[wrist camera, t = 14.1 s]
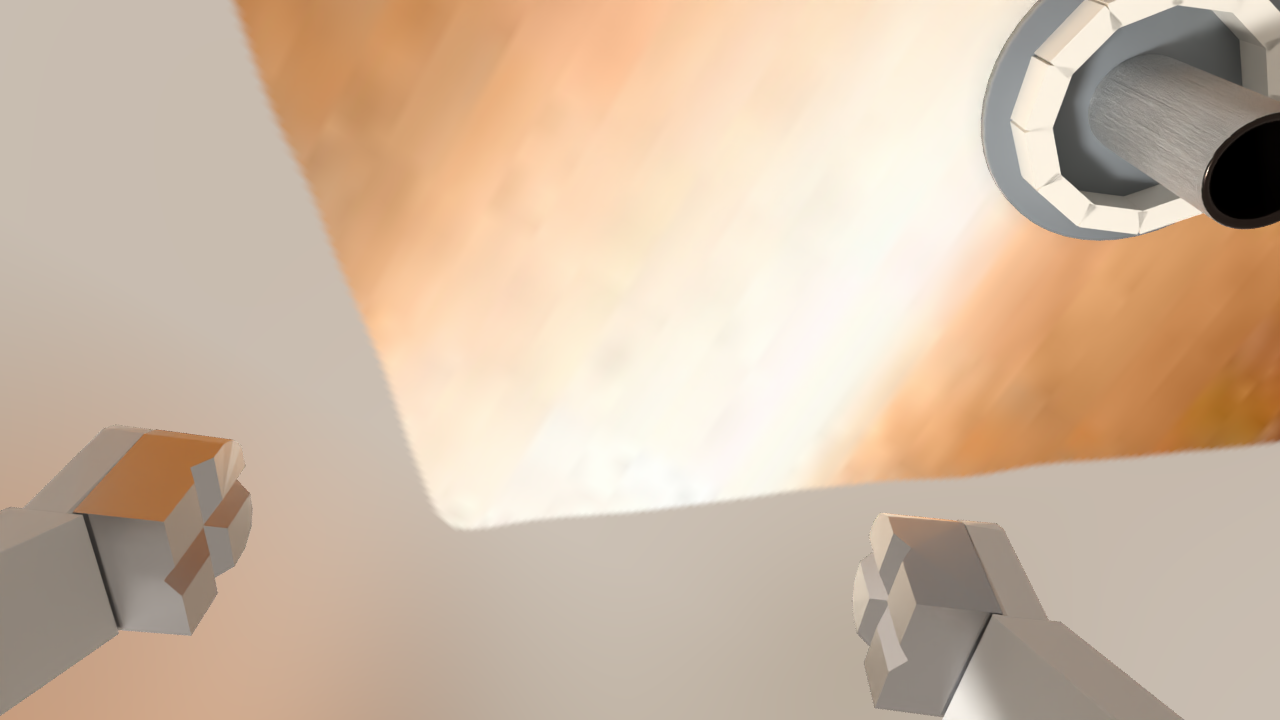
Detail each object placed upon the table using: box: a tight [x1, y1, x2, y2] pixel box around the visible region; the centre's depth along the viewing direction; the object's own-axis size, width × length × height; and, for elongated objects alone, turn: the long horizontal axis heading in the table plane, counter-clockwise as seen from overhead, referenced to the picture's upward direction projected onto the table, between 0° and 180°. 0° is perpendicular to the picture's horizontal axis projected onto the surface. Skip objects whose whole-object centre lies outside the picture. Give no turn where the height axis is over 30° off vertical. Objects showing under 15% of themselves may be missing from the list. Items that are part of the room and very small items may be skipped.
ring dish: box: [981, 0, 1280, 240], centre depth 39 cm, size 14×14×3 cm
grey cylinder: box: [1088, 54, 1280, 229], centre depth 35 cm, size 4×4×10 cm
